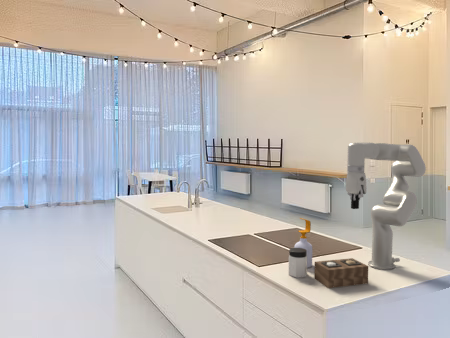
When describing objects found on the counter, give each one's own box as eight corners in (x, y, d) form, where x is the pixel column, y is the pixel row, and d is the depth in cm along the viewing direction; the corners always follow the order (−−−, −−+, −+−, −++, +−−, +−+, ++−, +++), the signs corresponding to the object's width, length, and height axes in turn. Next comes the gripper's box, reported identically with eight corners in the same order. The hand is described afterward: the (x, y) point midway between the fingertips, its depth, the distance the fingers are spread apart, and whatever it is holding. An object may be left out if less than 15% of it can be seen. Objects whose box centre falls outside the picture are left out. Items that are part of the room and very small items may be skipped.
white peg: (332, 278, 173) (332, 261, 172) (337, 281, 169) (337, 264, 168) (324, 279, 172) (325, 262, 171) (329, 282, 168) (329, 265, 167)
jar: (284, 273, 181) (285, 249, 180) (296, 270, 186) (296, 246, 185) (298, 279, 174) (299, 253, 173) (310, 275, 179) (311, 250, 178)
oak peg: (351, 276, 175) (351, 260, 175) (356, 279, 172) (357, 262, 171) (343, 277, 174) (344, 260, 174) (349, 280, 170) (349, 263, 170)
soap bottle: (290, 263, 197) (291, 217, 195) (305, 261, 200) (306, 215, 198) (300, 268, 188) (300, 220, 187) (315, 266, 192) (316, 219, 190)
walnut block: (352, 274, 180) (352, 257, 179) (367, 283, 169) (368, 265, 168) (314, 278, 175) (314, 260, 174) (328, 288, 163) (328, 269, 163)
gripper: (373, 170, 170) (371, 210, 171) (353, 168, 184) (352, 205, 185) (358, 170, 167) (357, 211, 169) (339, 168, 182) (338, 206, 183)
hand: (354, 208), depth 177 cm, fingers closed
